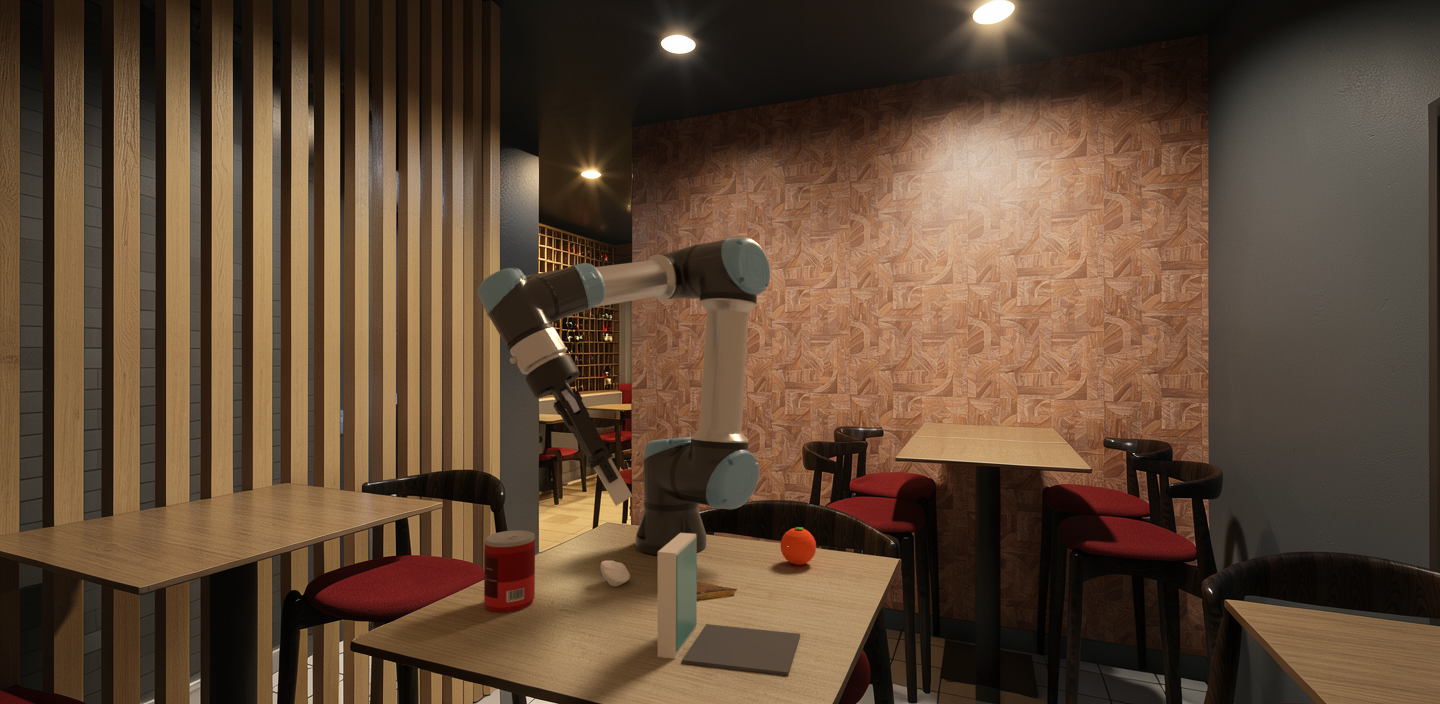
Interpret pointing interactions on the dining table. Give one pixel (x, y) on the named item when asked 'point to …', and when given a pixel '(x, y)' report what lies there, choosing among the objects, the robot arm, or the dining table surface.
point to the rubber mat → (744, 649)
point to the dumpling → (614, 572)
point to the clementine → (798, 546)
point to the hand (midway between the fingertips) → (623, 500)
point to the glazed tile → (677, 594)
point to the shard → (712, 591)
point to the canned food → (509, 570)
